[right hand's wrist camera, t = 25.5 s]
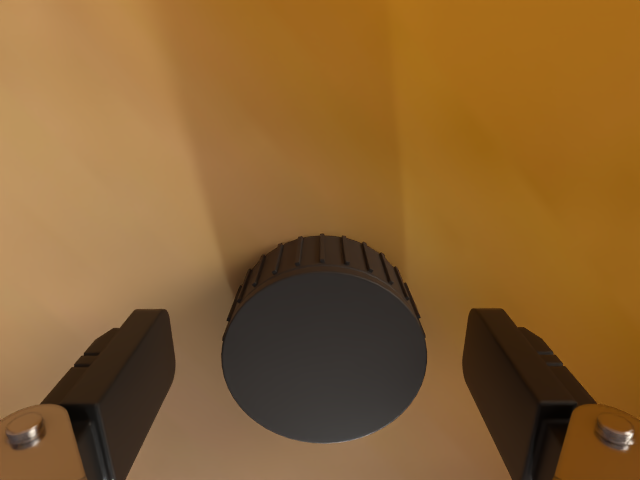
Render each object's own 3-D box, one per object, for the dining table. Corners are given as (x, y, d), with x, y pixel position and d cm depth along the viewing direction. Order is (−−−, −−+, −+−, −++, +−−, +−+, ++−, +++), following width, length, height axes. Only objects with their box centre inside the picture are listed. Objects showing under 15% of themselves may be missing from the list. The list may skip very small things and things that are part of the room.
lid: (228, 233, 12) (206, 270, 10) (416, 230, 12) (439, 266, 9) (243, 385, 14) (228, 447, 11) (406, 383, 14) (423, 444, 11)
